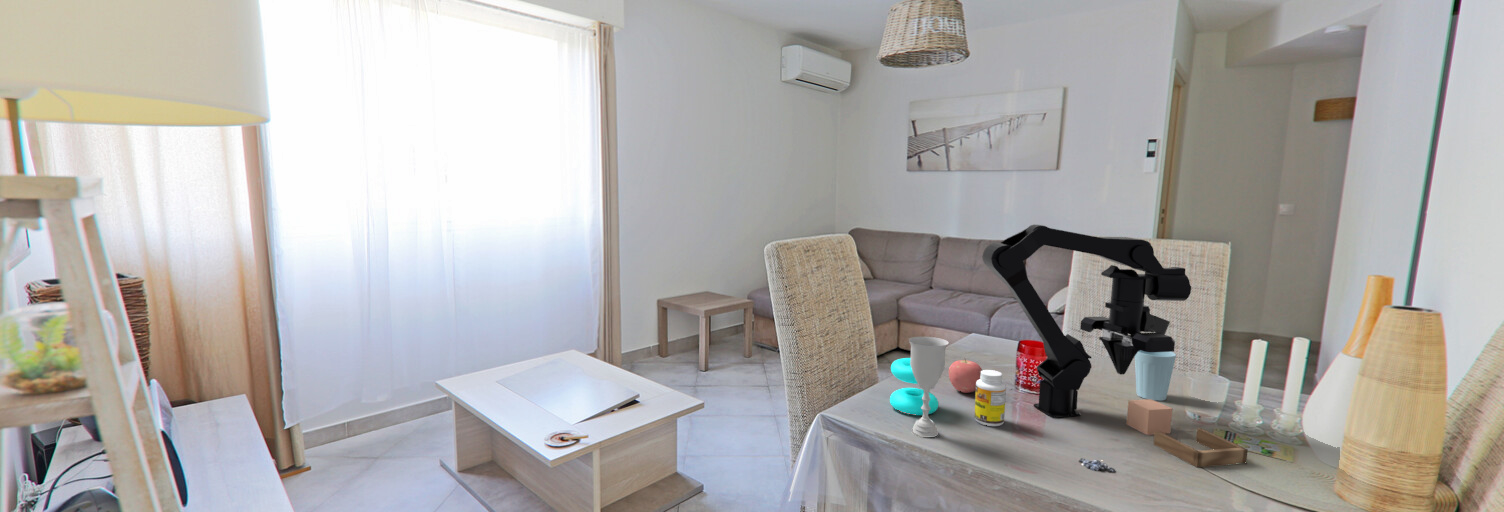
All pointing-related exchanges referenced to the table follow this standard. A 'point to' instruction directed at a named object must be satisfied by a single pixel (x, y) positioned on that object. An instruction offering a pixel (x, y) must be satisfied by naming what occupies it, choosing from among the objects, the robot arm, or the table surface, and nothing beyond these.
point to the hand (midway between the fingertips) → (1121, 373)
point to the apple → (964, 375)
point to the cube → (1149, 416)
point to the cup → (1153, 374)
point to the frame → (1220, 455)
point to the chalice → (927, 375)
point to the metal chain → (1096, 465)
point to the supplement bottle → (990, 398)
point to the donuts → (909, 390)
